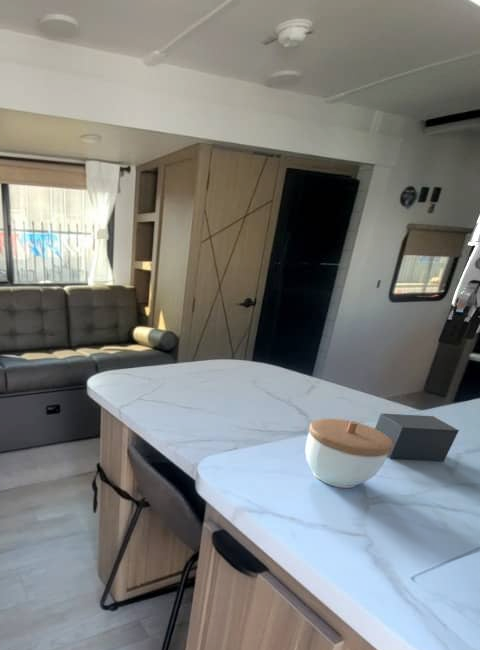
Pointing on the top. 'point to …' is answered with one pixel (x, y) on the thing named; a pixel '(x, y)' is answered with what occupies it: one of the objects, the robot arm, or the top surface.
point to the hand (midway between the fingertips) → (455, 340)
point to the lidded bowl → (345, 451)
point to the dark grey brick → (417, 436)
